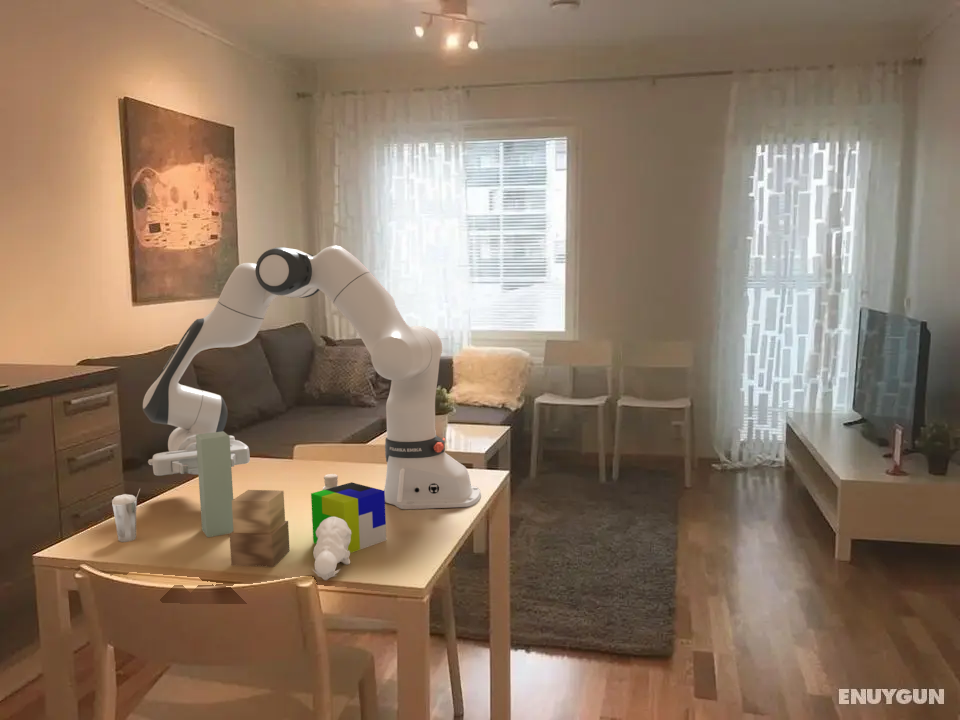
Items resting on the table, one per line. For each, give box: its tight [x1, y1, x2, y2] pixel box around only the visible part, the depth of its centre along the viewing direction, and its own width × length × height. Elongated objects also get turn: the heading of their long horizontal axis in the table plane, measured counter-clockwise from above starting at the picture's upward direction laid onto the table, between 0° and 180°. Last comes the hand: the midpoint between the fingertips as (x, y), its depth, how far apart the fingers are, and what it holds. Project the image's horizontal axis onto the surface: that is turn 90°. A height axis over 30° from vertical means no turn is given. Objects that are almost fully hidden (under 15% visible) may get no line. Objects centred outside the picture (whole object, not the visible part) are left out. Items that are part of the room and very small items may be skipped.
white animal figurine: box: [312, 517, 351, 581], centre depth 146 cm, size 6×8×12 cm
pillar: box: [196, 430, 234, 538], centre depth 168 cm, size 6×6×20 cm
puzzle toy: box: [310, 481, 387, 554], centre depth 161 cm, size 10×10×10 cm
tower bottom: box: [229, 520, 290, 568], centre depth 153 cm, size 8×8×6 cm
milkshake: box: [111, 488, 141, 543], centre depth 165 cm, size 4×5×10 cm
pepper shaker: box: [321, 473, 339, 491], centre depth 169 cm, size 5×5×11 cm
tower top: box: [232, 489, 286, 534], centre depth 153 cm, size 7×7×6 cm
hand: (207, 466), depth 175 cm, fingers open, 8 cm apart
